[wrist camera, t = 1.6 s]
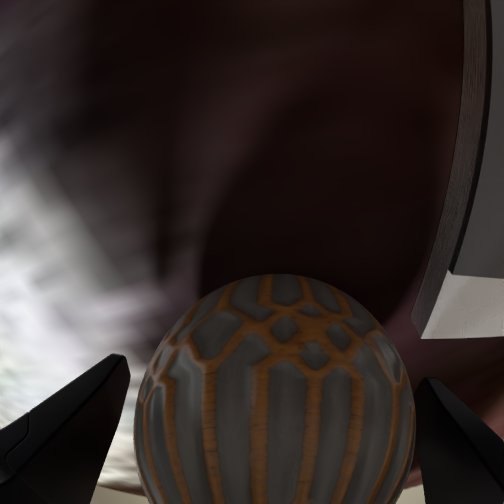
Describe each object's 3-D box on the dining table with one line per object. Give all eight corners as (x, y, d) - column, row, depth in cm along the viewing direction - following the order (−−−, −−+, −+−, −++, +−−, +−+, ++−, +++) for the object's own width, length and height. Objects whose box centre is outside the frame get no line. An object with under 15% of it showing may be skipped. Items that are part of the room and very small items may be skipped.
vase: (349, 203, 9) (510, 568, 1) (391, 366, 11) (441, 580, 3) (140, 280, 10) (-1, 529, 2) (230, 408, 13) (199, 600, 5)
